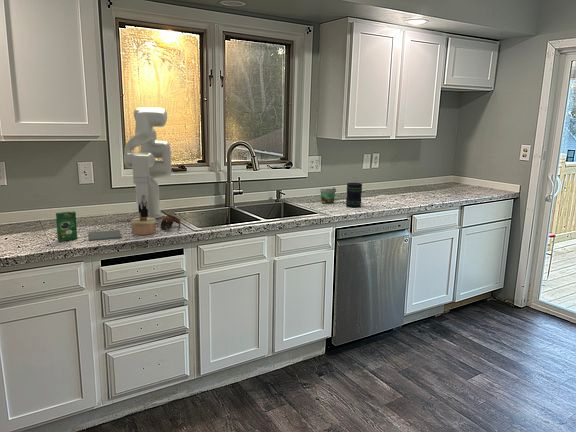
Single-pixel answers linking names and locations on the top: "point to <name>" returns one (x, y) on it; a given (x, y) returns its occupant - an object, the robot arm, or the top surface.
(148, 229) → the bowl
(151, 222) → the lid
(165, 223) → the pottery mug
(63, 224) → the coffee box
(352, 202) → the storage jar
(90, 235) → the mat
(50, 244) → the top surface
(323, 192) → the food container
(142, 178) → the robot arm
